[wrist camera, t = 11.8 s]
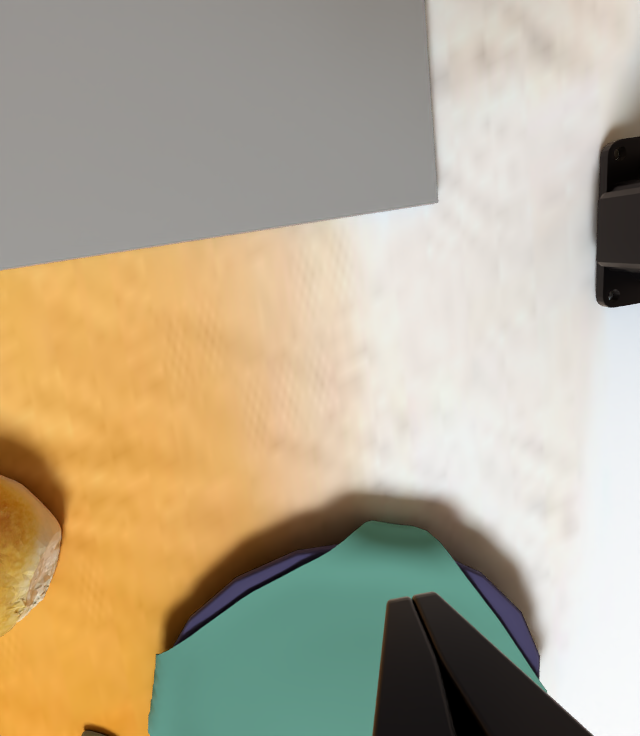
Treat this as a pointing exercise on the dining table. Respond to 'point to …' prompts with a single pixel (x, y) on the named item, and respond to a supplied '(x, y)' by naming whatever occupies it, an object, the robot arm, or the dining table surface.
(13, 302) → the dining table surface
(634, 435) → the dining table surface
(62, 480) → the dining table surface
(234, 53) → the slate board
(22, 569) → the bread roll
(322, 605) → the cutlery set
